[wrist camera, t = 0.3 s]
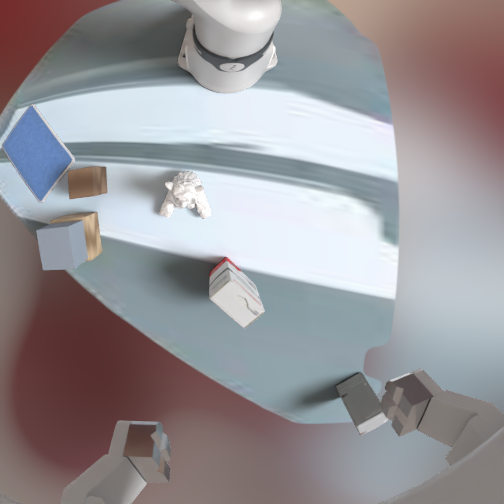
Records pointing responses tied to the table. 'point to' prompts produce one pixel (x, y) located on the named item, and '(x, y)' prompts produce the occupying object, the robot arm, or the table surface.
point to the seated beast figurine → (185, 195)
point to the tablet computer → (37, 153)
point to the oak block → (87, 231)
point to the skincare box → (361, 403)
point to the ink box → (235, 293)
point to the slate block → (62, 245)
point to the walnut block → (87, 182)
